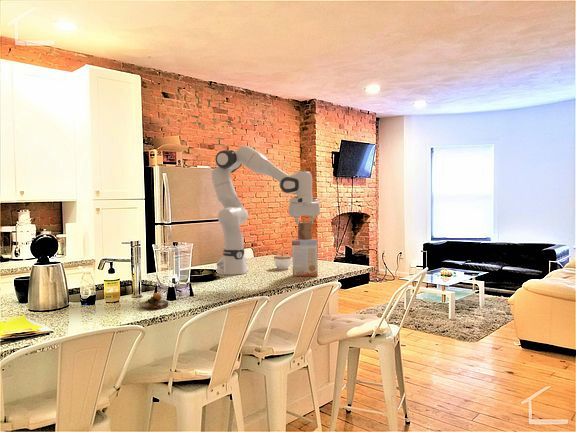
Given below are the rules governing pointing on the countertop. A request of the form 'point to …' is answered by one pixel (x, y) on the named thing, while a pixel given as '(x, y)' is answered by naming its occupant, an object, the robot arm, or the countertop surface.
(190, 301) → the countertop surface
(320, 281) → the countertop surface
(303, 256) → the cracker box
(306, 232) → the walnut block
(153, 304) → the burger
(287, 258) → the lidded jar
